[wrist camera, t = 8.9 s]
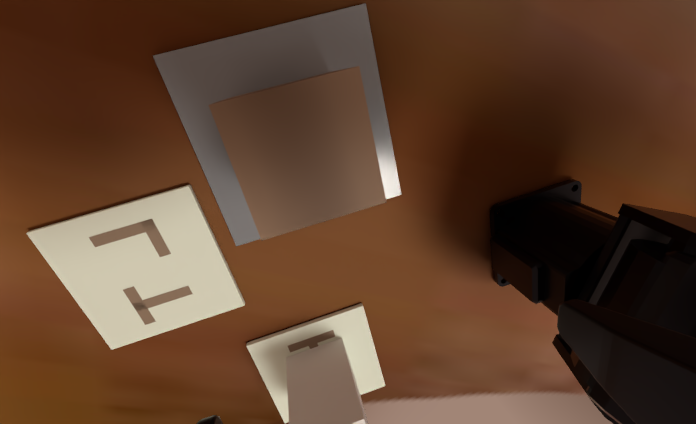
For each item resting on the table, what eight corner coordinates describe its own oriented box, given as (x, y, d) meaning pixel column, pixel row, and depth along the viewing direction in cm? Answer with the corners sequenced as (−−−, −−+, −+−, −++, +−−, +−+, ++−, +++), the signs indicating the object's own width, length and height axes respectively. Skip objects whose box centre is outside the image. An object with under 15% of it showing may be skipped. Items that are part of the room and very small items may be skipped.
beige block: (341, 337, 23) (364, 418, 17) (355, 377, 24) (379, 462, 19) (285, 357, 22) (290, 447, 17) (302, 396, 24) (311, 489, 18)
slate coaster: (363, 5, 16) (365, 3, 16) (399, 192, 20) (401, 194, 20) (155, 56, 15) (152, 55, 14) (237, 243, 19) (236, 246, 19)
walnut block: (330, 71, 16) (359, 66, 11) (352, 166, 18) (386, 202, 13) (230, 97, 16) (208, 105, 10) (264, 192, 18) (261, 240, 12)
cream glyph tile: (190, 184, 17) (188, 186, 17) (245, 302, 20) (244, 305, 20) (30, 230, 16) (25, 233, 16) (113, 345, 20) (111, 349, 19)
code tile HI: (361, 303, 22) (363, 306, 22) (384, 382, 26) (385, 385, 25) (246, 342, 21) (246, 346, 21) (284, 419, 25) (284, 423, 24)
